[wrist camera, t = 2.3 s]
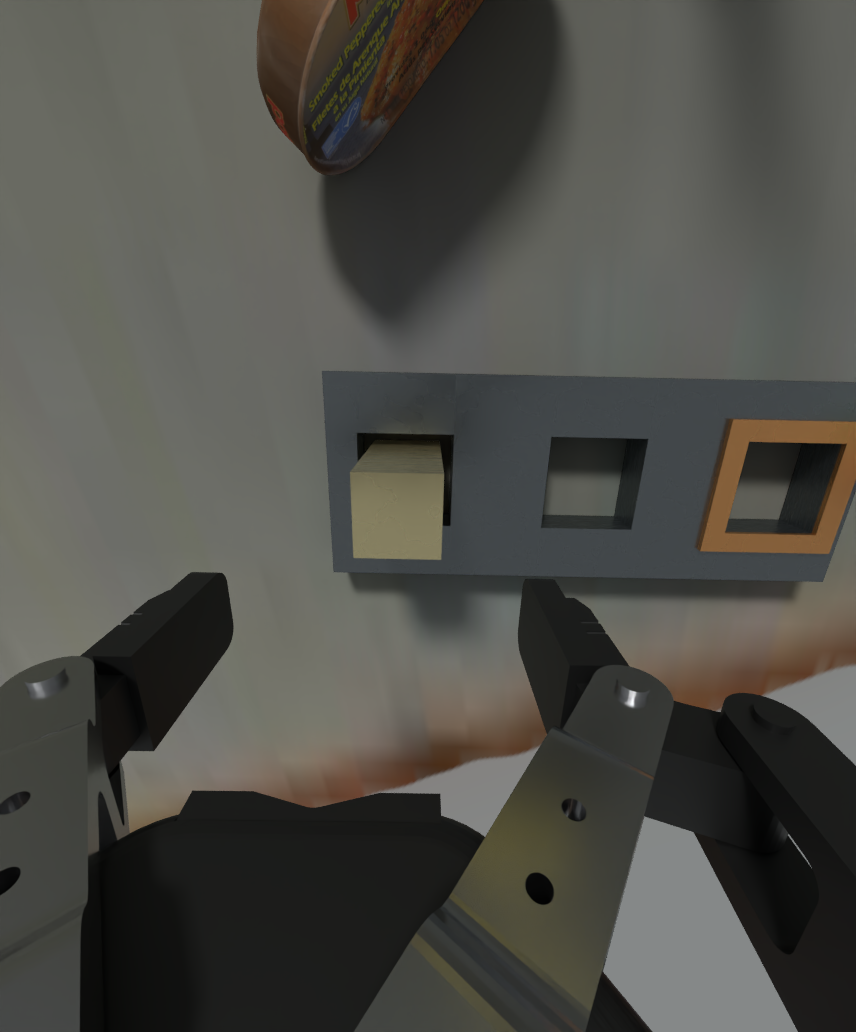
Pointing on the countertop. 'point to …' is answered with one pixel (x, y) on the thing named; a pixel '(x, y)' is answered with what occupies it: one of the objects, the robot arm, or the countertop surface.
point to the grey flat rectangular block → (644, 480)
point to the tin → (349, 68)
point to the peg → (398, 500)
